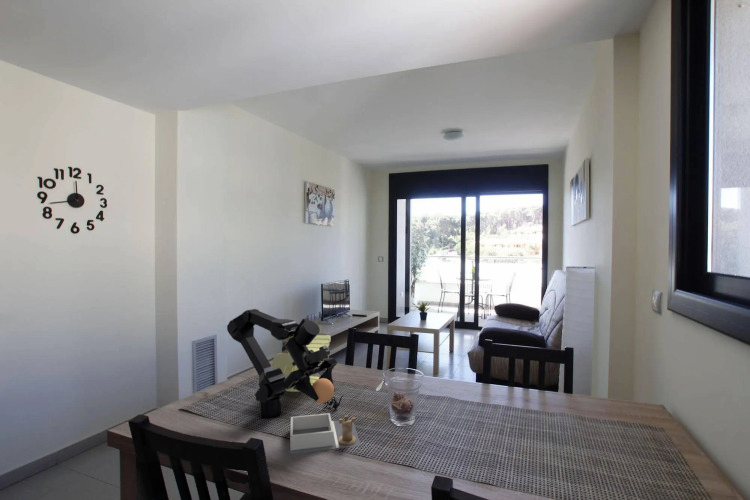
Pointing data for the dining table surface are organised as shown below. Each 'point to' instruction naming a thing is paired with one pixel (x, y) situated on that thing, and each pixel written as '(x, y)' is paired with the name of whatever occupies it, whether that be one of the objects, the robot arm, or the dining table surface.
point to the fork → (379, 386)
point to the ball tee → (347, 431)
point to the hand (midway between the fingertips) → (325, 396)
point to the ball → (323, 389)
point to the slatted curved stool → (286, 361)
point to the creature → (332, 403)
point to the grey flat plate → (337, 434)
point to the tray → (311, 438)
